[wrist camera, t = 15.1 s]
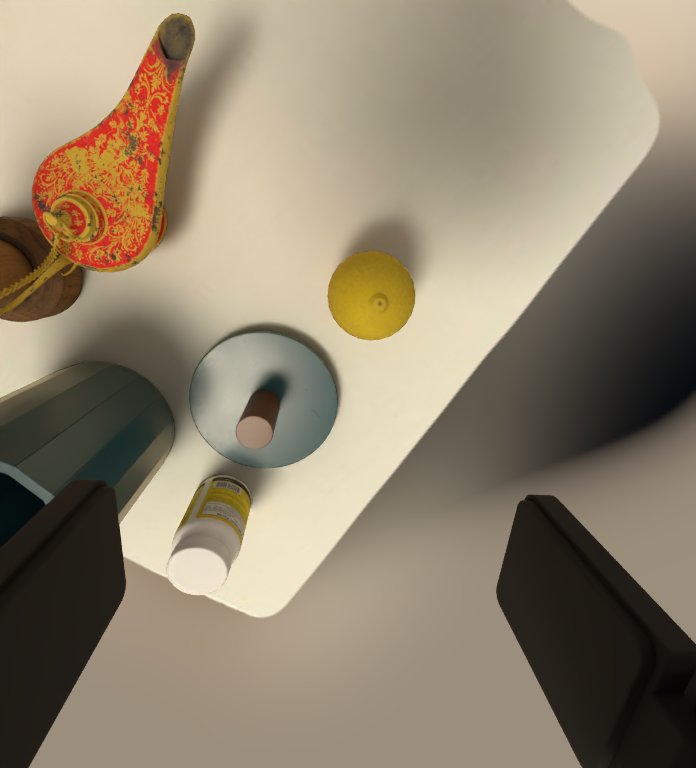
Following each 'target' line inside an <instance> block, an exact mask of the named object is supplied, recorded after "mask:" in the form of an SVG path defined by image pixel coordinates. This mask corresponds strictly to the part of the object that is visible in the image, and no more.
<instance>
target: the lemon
mask: <svg viewBox="0 0 696 768" xmlns="http://www.w3.org/2000/svg"><path fill="white" fill-rule="evenodd" d="M328 302H329V308H330V311H331V313H332V315H333V318H334V319H335V321H336V322H337V323H338V325H339V326H340V327H341V328H342V329H344V330H345V331H346V332H347V333H349V334H350V335H352V336H355V337H357V338H359V339H365V340H379V339H383V338H386V337H389V336H391V335H393V334H394V333H396V332H398V331H399V330H400V329H401V328H402V327H403V326H404V325H405V324H406V323H407V321H408V319H409V317H410V316H411V314H412V311H413V307H414V304H415V289H414V284H413V280H412V278H411V276H410V274H409V272H408V270H407V269H406V268H405V267H404V266H403V264H402V263H401V262H400V261H398V260H397V259H395V258H394V257H392V256H391V255H388V254H385V253H382V252H379V251H366V252H361V253H357V254H355V255H353V256H351V257H349V258H347V259H346V260H345V261H344V262H342V263H341V264H340V265H339V266H338V268H337V269H336V271H335V272H334V274H333V275H332V278H331V281H330V283H329V288H328Z"/></svg>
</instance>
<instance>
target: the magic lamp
mask: <svg viewBox="0 0 696 768" xmlns="http://www.w3.org/2000/svg"><path fill="white" fill-rule="evenodd" d="M194 41H195V29H194V26H193V23H192V20H191V19H190V17H188V16H187V15H184V14H179V13H177V14H171V15H170V16H169V17H167V18H166V19H165V20H164V21H163V22H162V23H161V24H160V26H159V27H158V29H157V31H156V33H155V35H154V37H153V39H152V41H151V43H150V45H149V47H148V49H147V51H146V53H145V55H144V57H143V59H142V61H141V64H140V66H139V68H138V70H137V72H136V74H135V76H134V78H133V80H132V82H131V84H130V86H129V88H128V90H127V91H126V93H125V95H124V96H123V98H122V100H121V101H120V102H119V104H118V105H117V106H116V108H115V109H114V110H113V111H112V112H111V113H110V114H109V115H108V116H107V117H106V118H105V119H104V120H103V121H102V122H101V123H99V124H98V125H97V126H95V127H94V128H93V129H91V130H90V131H88V132H87V133H85V134H83V135H82V136H80V137H78V138H76V139H74V140H72V141H70V142H68V143H66V144H65V145H63V146H61V147H59V148H58V149H56V150H55V151H53V152H52V153H51V154H50V155H49V156H47V158H46V159H45V160H44V161H43V163H42V164H41V165H40V167H39V169H38V171H37V173H36V175H35V178H34V183H33V187H32V204H33V209H34V215H35V217H36V220H37V223H38V225H39V228H40V229H41V231H42V233H43V234H44V236H45V238H46V239H47V240H48V242H49V243H50V244H51V245H52V246H53V248H52V249H51V252H50V253H49V256H47V257H46V258H47V259H45V260H44V262H45V263H41V265H42V266H38V267H37V268H38V269H37V270H35V269H34V270H33V271H34V273H29V274H30V276H25V277H26V278H25V279H20V280H21V281H20V282H15V285H9V286H10V287H9V288H3V289H4V290H3V291H0V299H1V298H3V297H4V296H7V295H9V294H10V293H13V292H15V291H16V290H18V289H20V288H21V287H23V286H25V285H26V284H27V283H30V282H31V281H32V280H35V279H36V277H39V276H40V274H42V275H41V276H40V277H39V278H38V279H37V280H36V281H35V282H34V283H33V284H32V285H31V286H30V287H29V288H28V289H27V290H25V291H24V292H23V293H22V294H21V295H20V296H18V297H17V298H16V299H15V300H14V301H12V302H11V303H10V304H8V305H7V306H5V307H3V308H1V309H0V315H3V314H6V313H8V312H10V311H11V310H13V309H14V308H16V307H17V306H18V305H20V304H21V303H22V302H23V301H24V300H25V299H27V298H28V297H29V296H30V295H31V294H32V293H33V292H34V291H36V290H37V289H38V288H39V287H40V286H41V285H42V284H43V283H45V282H46V281H47V280H48V279H49V278H50V277H52V276H53V275H54V274H55V273H56V272H58V271H59V270H60V269H62V268H63V267H64V266H66V265H68V264H71V263H74V265H73V267H72V268H71V270H70V271H69V272H67V273H66V274H62V273H61V275H62V276H67V275H69V274H70V273H71V272H73V270H74V269H75V268H76V266H77V265H79V266H81V267H84V268H86V269H89V270H93V271H98V272H117V271H122V270H126V269H128V268H130V267H133V266H135V265H137V264H138V263H139V262H141V261H142V260H144V259H145V258H146V257H147V256H148V254H149V253H150V252H151V251H152V250H153V249H154V248H156V247H157V246H158V245H159V244H160V242H161V241H162V239H163V237H164V235H165V232H166V228H167V215H166V210H165V207H164V204H163V199H164V190H165V183H166V176H167V169H168V163H169V157H170V150H171V144H172V138H173V132H174V126H175V119H176V113H177V107H178V101H179V96H180V90H181V86H182V81H183V77H184V73H185V69H186V66H187V62H188V59H189V56H190V54H191V51H192V48H193V45H194ZM57 251H58V252H59V253H60V254H61V255H60V256H59V258H58V259H57V260H56V261H55V262H54V258H55V259H56V255H58V253H57ZM50 257H51V258H50ZM49 261H50V262H49ZM52 262H54V263H53V264H52ZM46 264H47V265H46ZM50 265H51V266H50ZM47 268H48V269H47ZM44 271H45V272H44Z"/></svg>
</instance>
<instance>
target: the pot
mask: <svg viewBox="0 0 696 768" xmlns="http://www.w3.org/2000/svg"><path fill="white" fill-rule="evenodd" d="M173 440H174V420H173V417H172V413H171V410H170V408H169V406H168V404H167V402H166V400H165V399H164V397H163V396H162V394H161V393H160V392H159V391H158V390H157V388H156V387H155V386H154V385H153V384H152V383H150V382H149V381H148V380H147V379H145V378H144V377H142V376H141V375H139V374H138V373H136V372H134V371H132V370H130V369H128V368H125V367H122V366H119V365H115V364H111V363H104V362H87V363H80V364H76V365H73V366H70V367H68V368H65V369H62V370H59V371H57V372H54V373H52V374H50V375H48V376H46V377H44V378H42V379H40V380H37V381H35V382H33V383H31V384H29V385H27V386H25V387H23V388H20V389H18V390H16V391H14V392H12V393H10V394H8V395H6V396H3V397H1V398H0V548H1V547H2V546H3V545H4V544H5V543H6V542H7V541H8V540H9V539H10V538H11V537H13V536H14V535H15V534H16V533H17V532H18V531H19V530H20V529H21V528H22V527H23V526H24V525H25V524H26V523H27V522H29V521H30V520H31V519H32V518H33V517H34V516H35V515H36V514H37V513H38V512H39V511H40V510H41V509H42V508H43V507H44V506H46V505H47V504H48V503H49V502H50V501H51V500H52V499H53V498H54V497H55V496H56V495H57V494H58V493H59V492H60V491H61V490H63V489H64V488H65V487H66V486H67V485H68V484H69V483H70V482H71V481H73V480H76V479H87V480H104V481H106V483H107V485H108V487H112V488H114V490H115V493H116V501H117V510H118V518H119V524H120V522H121V521H122V520H123V518H124V517H125V516H126V514H127V513H128V511H129V510H130V509H131V507H132V506H133V504H134V503H135V502H136V500H137V499H138V498H139V496H140V495H141V493H142V492H143V491H144V489H145V488H146V486H147V485H148V484H149V482H150V481H151V480H152V478H153V477H154V475H155V474H156V473H157V471H158V470H159V469H160V467H161V466H162V464H163V463H164V461H165V459H166V457H167V455H168V453H169V452H170V450H171V447H172V444H173Z"/></svg>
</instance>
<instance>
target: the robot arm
mask: <svg viewBox="0 0 696 768" xmlns="http://www.w3.org/2000/svg"><path fill="white" fill-rule="evenodd" d="M125 589H126V579H125V570H124V561H123V553H122V544H121V535H120V527H119V518H118V510H117V501H116V493H115V490H114V488H112V487H108V485H107V483H106V481H104V480H87V479H76V480H73V481H71V482H70V483H69V484H68V485H67V486H66V487H65V488H64V489H63V490H61V491H60V492H59V493H58V494H57V495H56V496H55V497H54V498H53V499H52V500H51V501H50V502H49V503H48V504H47V505H46V506H44V507H43V508H42V509H41V510H40V511H39V512H38V513H37V514H36V515H35V516H34V517H33V518H32V519H31V520H30V521H29V522H27V523H26V524H25V525H24V526H23V527H22V528H21V529H20V530H19V531H18V532H17V533H16V534H15V535H14V536H13V537H11V538H10V539H9V540H8V541H7V542H6V543H5V544H4V545H3V546H2V547H1V548H0V768H28V767H29V766H30V764H31V762H32V760H33V759H34V757H35V755H36V753H37V751H38V750H39V748H40V746H41V744H42V742H43V741H44V739H45V737H46V735H47V734H48V732H49V730H50V728H51V727H52V725H53V723H54V721H55V719H56V717H57V716H58V714H59V712H60V710H61V709H62V707H63V705H64V703H65V701H66V700H67V698H68V696H69V694H70V693H71V691H72V689H73V687H74V685H75V684H76V682H77V680H78V678H79V676H80V675H81V673H82V671H83V669H84V667H85V666H86V664H87V662H88V660H89V659H90V657H91V655H92V653H93V651H94V649H95V648H96V646H97V644H98V643H99V641H100V639H101V637H102V635H103V634H104V632H105V630H106V628H107V626H108V625H109V623H110V621H111V619H112V617H113V616H114V614H115V612H116V610H117V609H118V607H119V605H120V603H121V601H122V599H123V596H124V593H125ZM496 593H497V599H498V602H499V605H500V607H501V609H502V611H503V613H504V615H505V617H506V619H507V621H508V623H509V625H510V627H511V629H512V631H513V633H514V634H515V637H516V639H517V641H518V642H519V645H520V646H521V648H522V650H523V652H524V654H525V656H526V658H527V660H528V662H529V664H530V666H531V668H532V670H533V672H534V674H535V676H536V678H537V680H538V682H539V684H540V686H541V688H542V690H543V692H544V694H545V696H546V698H547V700H548V702H549V704H550V706H551V708H552V710H553V711H554V714H555V716H556V718H557V720H558V722H559V724H560V726H561V727H562V730H563V732H564V734H565V735H566V737H567V739H568V741H569V743H570V745H571V747H572V749H573V751H574V753H575V755H576V757H577V759H578V761H579V763H580V765H581V766H582V768H696V644H695V643H694V642H693V641H692V640H691V639H690V638H689V637H688V635H687V634H686V633H685V632H684V631H683V630H682V629H681V628H680V627H679V626H678V625H677V624H676V623H675V622H674V621H673V620H672V619H671V618H670V617H669V615H668V614H667V613H666V612H665V611H664V610H663V609H662V608H661V607H660V606H659V605H658V604H657V603H656V602H655V601H654V600H653V599H652V598H651V597H650V596H649V594H647V592H646V591H645V590H644V589H643V588H641V586H640V585H639V584H638V583H637V582H636V581H635V580H634V579H633V578H632V577H631V576H630V574H629V573H627V571H626V570H625V569H624V568H622V566H621V565H620V564H619V563H618V562H617V561H616V560H615V559H614V558H613V557H612V556H611V555H610V554H609V552H607V550H606V549H605V548H604V547H603V546H602V545H601V544H600V543H599V542H598V541H597V540H596V539H595V538H594V537H593V536H592V535H591V534H590V532H589V531H587V529H586V528H585V527H584V526H583V525H582V524H581V523H580V522H579V521H578V520H577V519H576V518H575V517H574V516H573V515H572V514H571V512H570V511H569V510H568V509H567V508H566V507H565V506H564V505H563V504H562V503H561V502H560V501H559V500H558V499H557V498H556V497H554V496H551V495H528V496H526V498H525V500H524V501H520V502H519V504H518V506H517V510H516V514H515V518H514V522H513V525H512V529H511V533H510V537H509V541H508V545H507V549H506V553H505V556H504V561H503V564H502V568H501V572H500V576H499V580H498V584H497V589H496Z"/></svg>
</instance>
